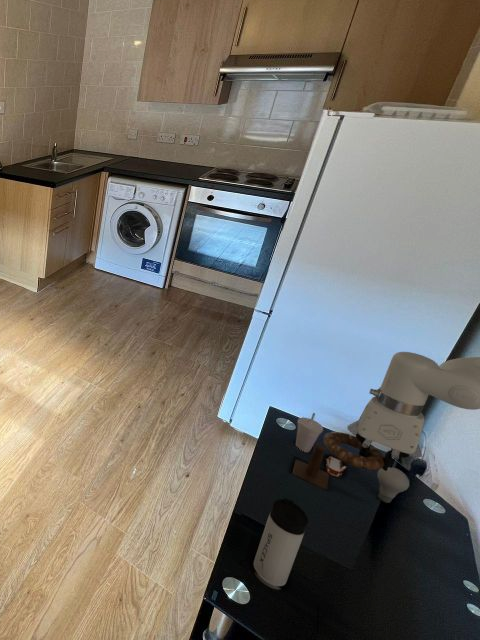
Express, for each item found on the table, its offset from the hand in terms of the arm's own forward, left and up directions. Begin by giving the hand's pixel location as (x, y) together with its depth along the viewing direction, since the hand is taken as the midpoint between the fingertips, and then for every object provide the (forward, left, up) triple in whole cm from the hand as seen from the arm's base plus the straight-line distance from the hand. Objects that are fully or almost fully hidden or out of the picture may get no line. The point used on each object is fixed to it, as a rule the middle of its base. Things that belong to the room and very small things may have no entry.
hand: (373, 462), depth 102 cm
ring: (+4, 0, +1) cm, 4 cm away
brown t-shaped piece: (+9, -11, -19) cm, 24 cm away
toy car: (+4, -20, -20) cm, 28 cm away
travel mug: (+13, +33, -20) cm, 41 cm away
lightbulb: (-7, -15, -20) cm, 26 cm away
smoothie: (+12, -24, -20) cm, 33 cm away
